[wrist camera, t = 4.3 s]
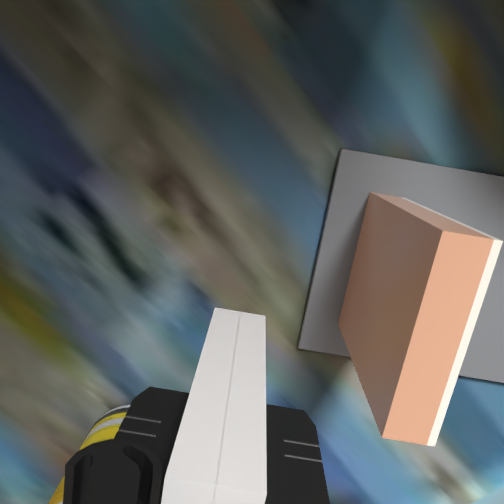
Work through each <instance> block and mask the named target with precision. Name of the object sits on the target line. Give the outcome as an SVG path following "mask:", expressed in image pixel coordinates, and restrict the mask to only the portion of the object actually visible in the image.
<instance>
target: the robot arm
mask: <svg viewBox="0 0 504 504" xmlns="http://www.w3.org/2000/svg"><path fill="white" fill-rule="evenodd" d="M321 460H322V458H321V453H320V448H319V442H318V436H317V431H316V426H315V425H314V424H313V422H312V421H311V419H310V418H309V417H308V415H307V414H306V412H305V411H304V410H298V409H292V408H286V407H280V406H274V405H268V404H266V332H265V316H263V315H257V314H251V313H245V312H239V311H233V310H227V309H221V308H215V309H214V312H213V316H212V319H211V323H210V326H209V329H208V333H207V336H206V339H205V343H204V346H203V350H202V353H201V356H200V360H199V363H198V366H197V370H196V373H195V377H194V380H193V383H192V387H191V390H190V393H185V392H179V391H173V390H167V389H161V388H155V387H149V388H147V389H146V390H145V391H143V392H142V393H141V394H139V395H138V396H137V397H135V398H134V399H133V401H132V403H131V405H130V407H129V409H128V411H127V413H126V416H125V418H124V419H123V421H122V423H121V425H120V427H119V430H118V432H117V433H116V435H115V437H114V439H109V440H104V441H100V442H96V443H92V444H91V445H89V446H87V447H85V448H83V449H81V450H80V451H78V452H76V454H75V455H74V456H73V457H72V458H71V459H70V460H69V461H68V462H67V463H66V465H65V480H64V494H63V504H330V502H329V497H328V491H327V486H326V480H325V475H324V469H323V464H322V463H321Z"/></svg>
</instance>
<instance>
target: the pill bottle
mask: <svg viewBox="0 0 504 504" xmlns="http://www.w3.org/2000/svg"><path fill="white" fill-rule="evenodd" d="M129 407H130V405H125V406H120V407H117V408H115V409H112V410H110V411H108V412H107V413H105V414H104V415H103V416H102V417H100V418H99V419H98V421H97V422H96V423H95V424H94V426H93V427H92V429H91V430H90V432H89V434H88V436H87V437H86V439H85V441H84V443H83V444H82V446H81V448H80V450H81V449H83V448H85V447H87V446H89V445H91V444H92V443H96V442H100V441H104V440H109V439H114V437H115V435H116V433H117V432H118V430H119V427H120V425H121V423H122V421H123V419H124V418H125V416H126V413H127V411H128V409H129ZM80 450H79V451H80ZM64 480H65V475H64V477H63V479H62V480H61V482H60V484H59V485H58V487H57V489H56V491H55V492H54V494H53V496H52V498H51V499H50V501H49V503H48V504H63V494H64Z"/></svg>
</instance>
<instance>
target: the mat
mask: <svg viewBox="0 0 504 504" xmlns="http://www.w3.org/2000/svg"><path fill="white" fill-rule="evenodd" d="M370 192H373V193H379V194H385V195H391V196H396V197H402V198H407V199H409V200H411V201H413V202H416V203H418V204H420V205H422V206H425V207H427V208H429V209H432V210H434V211H436V212H438V213H441V214H443V215H445V216H447V217H450V218H452V219H454V220H457V221H459V222H461V223H463V224H466V225H468V226H470V227H472V228H475V229H477V230H479V231H482V232H484V233H486V234H488V235H491V236H493V237H495V238H497V239H500V240H502V241H503V243H502V246H501V249H500V252H499V255H498V258H497V261H496V264H495V267H494V270H493V273H492V276H491V279H490V282H489V285H488V288H487V291H486V294H485V297H484V300H483V303H482V306H481V309H480V312H479V315H478V318H477V321H476V324H475V327H474V330H473V333H472V336H471V339H470V342H469V345H468V348H467V351H466V354H465V357H464V360H463V363H462V366H461V369H460V372H459V375H460V376H466V377H472V378H478V379H483V380H489V381H495V382H501V383H504V177H501V176H495V175H490V174H484V173H478V172H473V171H467V170H461V169H455V168H450V167H444V166H438V165H433V164H427V163H421V162H415V161H410V160H404V159H398V158H393V157H387V156H381V155H375V154H370V153H364V152H358V151H353V150H347V149H340V154H339V158H338V163H337V167H336V172H335V177H334V181H333V186H332V190H331V195H330V200H329V204H328V209H327V213H326V218H325V223H324V227H323V232H322V236H321V241H320V246H319V250H318V255H317V259H316V264H315V269H314V273H313V278H312V282H311V287H310V292H309V296H308V301H307V305H306V310H305V315H304V319H303V324H302V328H301V333H300V338H299V342H298V348H299V349H305V350H311V351H317V352H323V353H329V354H335V355H341V356H346V357H351V356H350V354H349V351H348V349H347V346H346V343H345V341H344V338H343V336H342V333H341V331H340V328H339V325H338V322H339V318H340V314H341V310H342V306H343V301H344V297H345V293H346V289H347V285H348V281H349V277H350V273H351V268H352V264H353V260H354V256H355V252H356V248H357V244H358V239H359V235H360V231H361V227H362V223H363V219H364V215H365V210H366V206H367V202H368V198H369V194H370Z"/></svg>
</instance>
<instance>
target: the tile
mask: <svg viewBox="0 0 504 504" xmlns="http://www.w3.org/2000/svg"><path fill="white" fill-rule="evenodd" d="M502 243H503V241H502V240H500V239H497V238H495V237H493V236H491V235H488V234H486V233H484V232H482V231H479V230H477V229H475V228H472V227H470V226H468V225H466V224H463V223H461V222H459V221H457V220H454V219H452V218H450V217H447V216H445V215H443V214H441V213H438V212H436V211H434V210H432V209H429V208H427V207H425V206H422V205H420V204H418V203H416V202H413V201H411V200H409V199H407V198H402V197H396V196H391V195H385V194H379V193H373V192H370V194H369V198H368V202H367V206H366V210H365V215H364V219H363V223H362V227H361V231H360V235H359V239H358V244H357V248H356V252H355V256H354V260H353V264H352V268H351V273H350V277H349V281H348V285H347V289H346V293H345V297H344V301H343V306H342V310H341V314H340V318H339V322H338V325H339V328H340V331H341V333H342V336H343V338H344V341H345V343H346V346H347V349H348V351H349V354H350V356H351V359H352V362H353V364H354V367H355V369H356V372H357V374H358V377H359V380H360V382H361V385H362V387H363V390H364V393H365V395H366V398H367V400H368V403H369V405H370V408H371V411H372V413H373V416H374V418H375V421H376V424H377V426H378V429H379V431H380V434H381V436H382V438H387V439H393V440H399V441H405V442H411V443H417V444H423V445H429V446H435V444H436V441H437V438H438V435H439V432H440V429H441V426H442V423H443V420H444V417H445V414H446V411H447V408H448V405H449V402H450V399H451V396H452V393H453V390H454V387H455V384H456V381H457V378H458V375H459V372H460V369H461V366H462V363H463V360H464V357H465V354H466V351H467V348H468V345H469V342H470V339H471V336H472V333H473V330H474V327H475V324H476V321H477V318H478V315H479V312H480V309H481V306H482V303H483V300H484V297H485V294H486V291H487V288H488V285H489V282H490V279H491V276H492V273H493V270H494V267H495V264H496V261H497V258H498V255H499V252H500V249H501V246H502Z"/></svg>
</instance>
